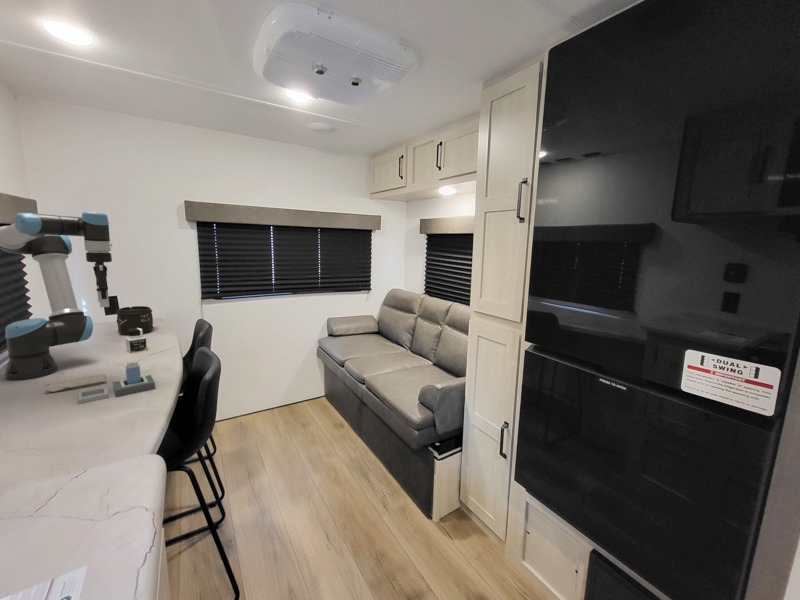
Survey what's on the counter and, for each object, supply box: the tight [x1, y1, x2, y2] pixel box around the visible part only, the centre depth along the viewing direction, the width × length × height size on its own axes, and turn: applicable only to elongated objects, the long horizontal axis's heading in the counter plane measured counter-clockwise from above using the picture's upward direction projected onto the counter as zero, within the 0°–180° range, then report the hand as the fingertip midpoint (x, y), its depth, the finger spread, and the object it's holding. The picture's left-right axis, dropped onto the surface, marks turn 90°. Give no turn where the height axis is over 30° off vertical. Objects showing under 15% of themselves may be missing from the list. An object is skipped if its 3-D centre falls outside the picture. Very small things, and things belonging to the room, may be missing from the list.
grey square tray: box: [77, 386, 110, 405], centre depth 123 cm, size 8×8×2 cm
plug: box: [125, 359, 141, 385], centre depth 130 cm, size 4×4×12 cm
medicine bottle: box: [125, 328, 148, 354], centre depth 176 cm, size 7×7×12 cm
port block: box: [112, 374, 156, 398], centre depth 131 cm, size 12×10×4 cm
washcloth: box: [43, 373, 108, 395], centre depth 132 cm, size 12×18×3 cm, turn 134°
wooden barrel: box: [116, 305, 154, 337], centre depth 209 cm, size 18×18×16 cm
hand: (103, 304), depth 134 cm, fingers open, 13 cm apart
